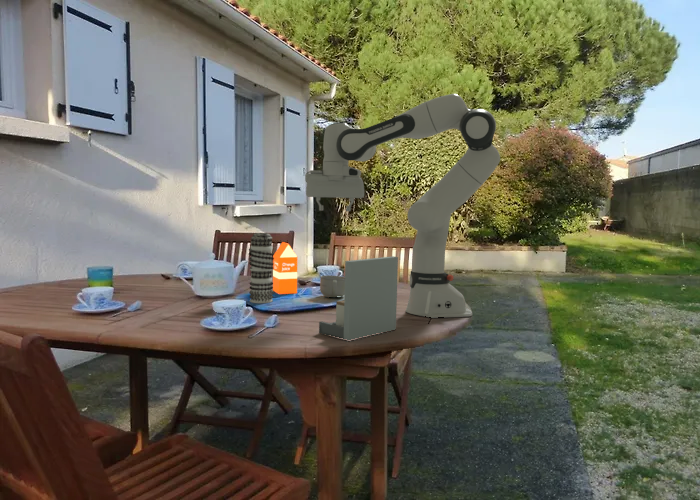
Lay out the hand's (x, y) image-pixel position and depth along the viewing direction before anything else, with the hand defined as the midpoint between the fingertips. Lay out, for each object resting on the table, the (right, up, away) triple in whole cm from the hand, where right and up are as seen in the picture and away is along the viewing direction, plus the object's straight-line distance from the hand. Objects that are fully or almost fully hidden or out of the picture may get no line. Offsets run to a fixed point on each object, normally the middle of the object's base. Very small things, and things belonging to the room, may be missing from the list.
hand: (334, 210), depth 196 cm
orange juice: (-21, -31, +32) cm, 49 cm away
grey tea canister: (+5, -37, -35) cm, 51 cm away
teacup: (-1, -32, +21) cm, 39 cm away
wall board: (+8, -38, -31) cm, 49 cm away
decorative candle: (-27, -33, +11) cm, 44 cm away
